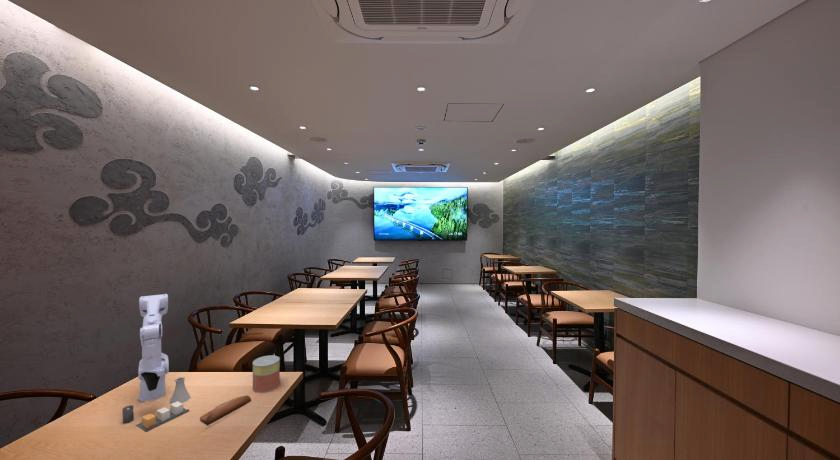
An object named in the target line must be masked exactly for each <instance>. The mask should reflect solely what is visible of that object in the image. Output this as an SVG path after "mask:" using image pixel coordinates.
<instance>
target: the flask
mask: <svg viewBox="0 0 840 460" xmlns="http://www.w3.org/2000/svg"><path fill="white" fill-rule="evenodd" d="M185 379H186V377H184V376H181V377H178V378H177V377H176V378H175V379H174V382H175V386H174V390H173V393H172V395H171V398H170V400H169V404H173V403H175V402H177V401H178V402H180V403H182V404H184V403H186V402H188V401H189V400H190V399H191V396H190V393H189V391H188V389H187V388H186V385H185Z"/></svg>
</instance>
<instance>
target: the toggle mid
mask: <svg viewBox="0 0 840 460" xmlns="http://www.w3.org/2000/svg"><path fill="white" fill-rule="evenodd" d="M156 416H157V419H159V420H161V421H164V420H166V419H168V418H170V409H168V408H167V407H165V406H164V407H162V408H159V409H157V410H156Z"/></svg>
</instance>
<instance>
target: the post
mask: <svg viewBox="0 0 840 460" xmlns="http://www.w3.org/2000/svg"><path fill="white" fill-rule="evenodd" d="M121 411H122V424H129V423H132V422H133V421H134V415H135V414H134V405H132V404H131V405H126V406H124V407H123V408H122V410H121Z"/></svg>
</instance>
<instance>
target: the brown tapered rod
mask: <svg viewBox="0 0 840 460" xmlns="http://www.w3.org/2000/svg"><path fill="white" fill-rule="evenodd" d="M251 402H252V399H251V396H250V395H243V396H238V397H235V398H232V399H230V400H228V401H225V402H223V403H221V404H219V405H217V406H216V407H215V408H213V409H212V410H210V411H208V412H207V413H205V414H203V415H201V416H200V417H199V421H200V422H201V423H202V424H204V425H205V426H208V427H211V426H212V425H211V424H213V423H215V422H217V421H219V420H220V419H221V420H222V418H224V417H226V416H227V415H229V414H232V413H233V412H235V411H237V410H238V409H240V408H242V407H244V406H245V405H247V404H249V403H251Z"/></svg>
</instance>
